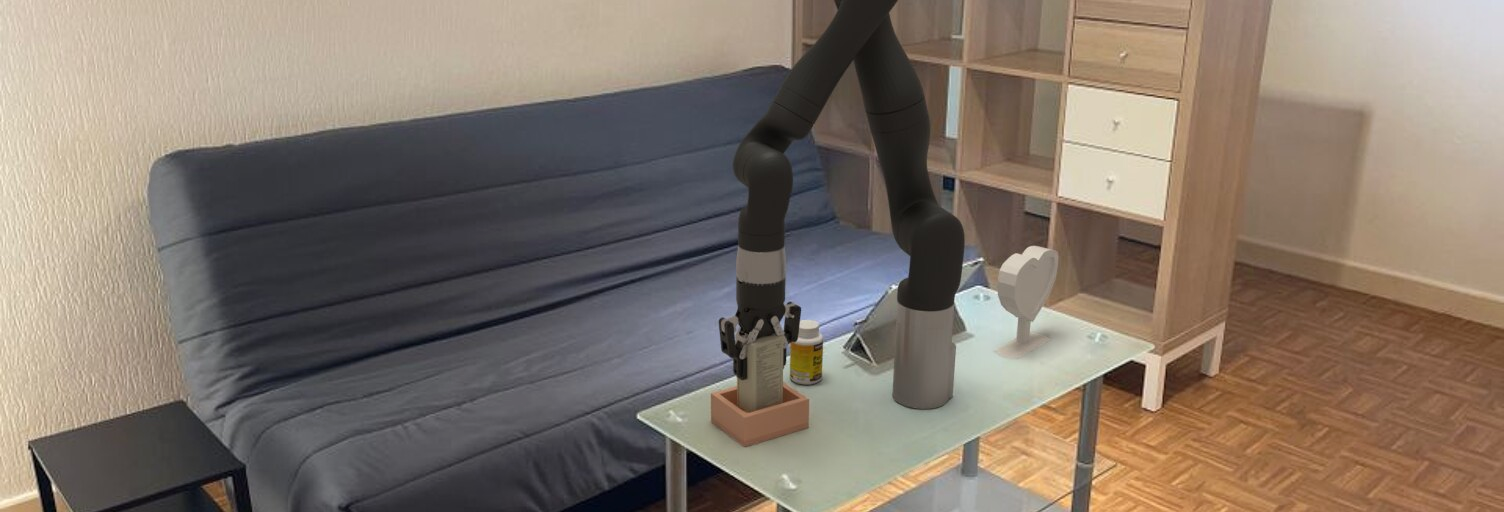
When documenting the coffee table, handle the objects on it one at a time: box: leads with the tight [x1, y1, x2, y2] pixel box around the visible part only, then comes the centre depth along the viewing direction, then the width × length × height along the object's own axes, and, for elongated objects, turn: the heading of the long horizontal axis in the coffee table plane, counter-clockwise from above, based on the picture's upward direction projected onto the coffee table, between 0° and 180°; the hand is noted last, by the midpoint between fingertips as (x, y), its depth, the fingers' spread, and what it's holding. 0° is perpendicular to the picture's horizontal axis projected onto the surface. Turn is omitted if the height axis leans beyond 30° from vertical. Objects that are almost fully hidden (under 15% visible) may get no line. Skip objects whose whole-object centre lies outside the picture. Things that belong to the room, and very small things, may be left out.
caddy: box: [710, 381, 810, 448], centre depth 196 cm, size 12×10×5 cm
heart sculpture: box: [994, 245, 1059, 360], centre depth 224 cm, size 16×5×18 cm, turn 139°
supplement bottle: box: [789, 319, 824, 385], centre depth 211 cm, size 6×6×10 cm
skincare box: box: [736, 333, 784, 413], centre depth 194 cm, size 6×4×12 cm
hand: (759, 373), depth 194 cm, fingers closed on skincare box, 6 cm apart
